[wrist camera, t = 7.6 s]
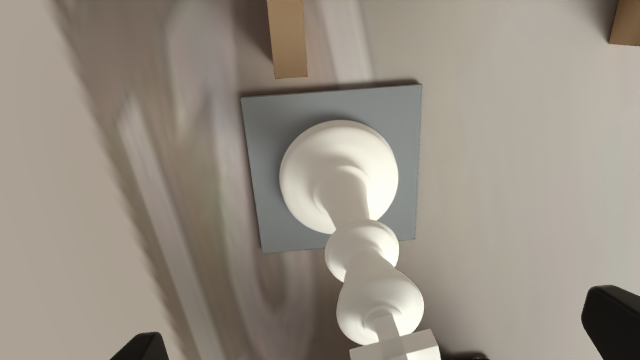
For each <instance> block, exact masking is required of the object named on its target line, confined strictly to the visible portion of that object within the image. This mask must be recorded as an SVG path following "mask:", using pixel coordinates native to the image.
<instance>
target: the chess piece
mask: <svg viewBox="0 0 640 360" xmlns="http://www.w3.org/2000/svg"><path fill="white" fill-rule="evenodd" d="M279 182H280V188H281V192H282V195H283V198H284V201H285V203H286V205H287V207H288V209H289V211H290V212H291V213H292V215H293V216H294V217H295V218H296V219H297V220H298V221H300V222H301V223H302V224H304V225H305V226H307V227H309V228H310V229H313V230H315V231H318V232H321V233H326V234H332V235H331V236H330V238H329V239H328V241H327V244H326V247H325V261H326V264H327V266H328V268H329V270H330V271H331V272H332V274H333V275H334V276H335V277H336V278H337V279H339V280H340V281H342V282H344V284H343V287H342V289H341V291H340V294H339V298H338V303H337V309H336V316H337V322H338V325H339V327H340V329H341V330H342V332H343V333H344V334H345V335H346V336H347V337H348V338H349V339H351V340H352V341H354V342H356V343H358V344H361V345H365V346H361V347H357V348H353V349H349V352H350V358H351V360H441V358H440V352H439V347H438V344H437V342H436V340H435V337H434V335H433V333H432V331H431V329H426V330H422V331H418V332H414V333H412V332H413V331H414V330H415V329H416V328H417V326H418V325H419V323H420V321H421V319H422V316H423V312H424V301H423V297H422V295H421V293H420V291H419V289H418V288H417V287H416V285H415V284H414V283H413V282H412V281H411V280H410V279H409V278H408V277H406V276H405V275H404V274H403V273H401V272H400V271H398V270H397V269H395V268H394V267H395V265H396V263H397V260H398V255H399V244H398V240H397V237H396V235H395V234H394V232H393V231H392V230H391V229H390V228H389V227H388V226H386V225H385V224H383V223H381V222H379V221H377V220H378V219H379V218H380V217H381V216H382V215H383V214H384V213H385V212H386V210H387V209H388V208H389V206H390V205H391V203H392V201H393V199H394V197H395V194H396V191H397V186H398V168H397V164H396V160H395V157H394V154H393V152H392V150H391V148H390V146H389V144H388V143H387V142H386V140H385V139H384V138H383V137H382V136H381V135H380V134H379V133H378V132H376V131H375V130H374V129H372V128H370V127H368V126H366V125H364V124H362V123H359V122H355V121H349V120H332V121H327V122H323V123H320V124H317V125H315V126H313V127H311V128H309V129H307V130H306V131H304V132H303V133H302V134H300V135H299V136H298V137H297V138H296V139H295V140H294V141H293V142H292V143H291V145H290V146H289V147H288V149H287V151H286V153H285V155H284V157H283V159H282V162H281V166H280V173H279Z"/></svg>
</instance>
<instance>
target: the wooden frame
mask: <svg viewBox="0 0 640 360" xmlns="http://www.w3.org/2000/svg"><path fill="white" fill-rule="evenodd" d="M267 8H268V18H269V27H270V37H271V46H272V56H273V65H274V75H275V79H282V78H295V77H308V74H307V60H306V46H305V31H304V17H303V3H302V0H267ZM609 44H618V45H630V46H640V0H619V1H618V5H617V10H616V14H615V19H614V23H613V27H612V32H611V36H610V40H609Z"/></svg>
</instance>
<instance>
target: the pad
mask: <svg viewBox="0 0 640 360" xmlns="http://www.w3.org/2000/svg"><path fill="white" fill-rule="evenodd" d="M240 99H241V106H242V113H243V120H244V127H245V134H246V141H247V148H248V155H249V162H250V169H251V176H252V183H253V190H254V197H255V204H256V211H257V218H258V225H259V232H260V239H261V246H262V253H263V254H264V253H274V252H285V251H296V250H306V249H317V248H325V247H326V244H327V241H328V239H329V238H330V236H331V235H332V234H326V233H321V232H318V231H315V230H313V229H310V228H309V227H307V226H305V225H304V224H302V223H301V222H300V221H298V220H297V219H296V218H295V217H294V216H293V215H292V213H291V212H290V211H289V209H288V207H287V205H286V203H285V201H284V198H283V195H282V192H281V188H280V182H279V173H280V166H281V162H282V159H283V157H284V155H285V153H286V151H287V149H288V147H289V146H290V145H291V143H292V142H293V141H294V140H295V139H296V138H297V137H298V136H299V135H300V134H302V133H303V132H304V131H306V130H307V129H309V128H311V127H313V126H315V125H317V124H320V123H323V122H327V121H332V120H349V121H355V122H359V123H362V124H364V125H366V126H368V127H370V128H372V129H374V130H375V131H376V132H378V133H379V134H380V135H381V136H382V137H383V138H384V139H385V140H386V142H387V143H388V144H389V146H390V148H391V150H392V152H393V154H394V157H395V160H396V164H397V168H398V186H397V191H396V194H395V197H394V199H393V201H392V203H391V205H390V206H389V208H388V209H387V210H386V212H385V213H384V214H383V215H382V216H381V217H380V218H379V219H378V220H377V221H379V222H381V223H383V224H385V225H386V226H388V227H389V228H390V229H391V230H392V231H393V232H394V234H395V235H396V237H397V240H398V241H403V240H413V239H415V230H416V208H417V187H418V166H419V145H420V123H421V102H422V84H408V85H394V86H381V87H367V88H354V89H340V90H327V91H314V92H300V93H287V94H273V95H260V96H246V97H241V98H240Z"/></svg>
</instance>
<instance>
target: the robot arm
mask: <svg viewBox="0 0 640 360" xmlns="http://www.w3.org/2000/svg"><path fill="white" fill-rule="evenodd" d="M581 321H582V324H583V327H584V329H585V330H586V332H587V334H588V335H589V337H590V339H591V340H592V342H593V343H594V345H595V347H596V348H597V350H598V351H599V353H600V355H601V356H602V358H603V360H640V296H638V295H635V294H633V293H631V292H628V291H626V290H624V289H621V288H619V287H616V286H614V285H602V286H594V287H591V288H590V289H589V291H588V293H587V297H586V300H585V304H584V307H583V311H582V314H581ZM110 360H169V358H168V355H167V352H166V348H165V345H164V342H163V338H162V336H161V334H160V333H159V332H149V333H141V334H138V335H136V336H135V337H134V338H133V339H132V340H130V341H129V342H128V343H127V344H126V345H125V346H124V347H123V348H122V349H121V350H120V351H118V352H117V353H116V354H115V355H114V356H113V357H112V358H111V359H110ZM474 360H490V359H487V358H483V359H474Z"/></svg>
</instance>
